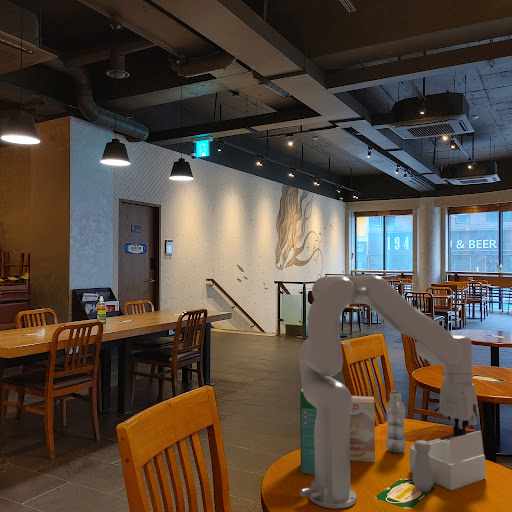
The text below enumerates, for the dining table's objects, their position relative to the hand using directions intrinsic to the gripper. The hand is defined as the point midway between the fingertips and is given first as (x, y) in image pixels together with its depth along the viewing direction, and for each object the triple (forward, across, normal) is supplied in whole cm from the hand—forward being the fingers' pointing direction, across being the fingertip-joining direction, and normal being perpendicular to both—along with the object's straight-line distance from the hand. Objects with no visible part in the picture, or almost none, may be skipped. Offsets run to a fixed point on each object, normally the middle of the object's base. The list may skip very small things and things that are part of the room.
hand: (459, 440), depth 138 cm
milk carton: (+12, -29, -30) cm, 44 cm away
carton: (+12, -5, 0) cm, 13 cm away
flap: (+1, +2, 0) cm, 2 cm away
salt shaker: (+12, -2, -13) cm, 18 cm away
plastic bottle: (+12, -26, +2) cm, 29 cm away
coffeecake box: (+12, -31, -14) cm, 36 cm away
